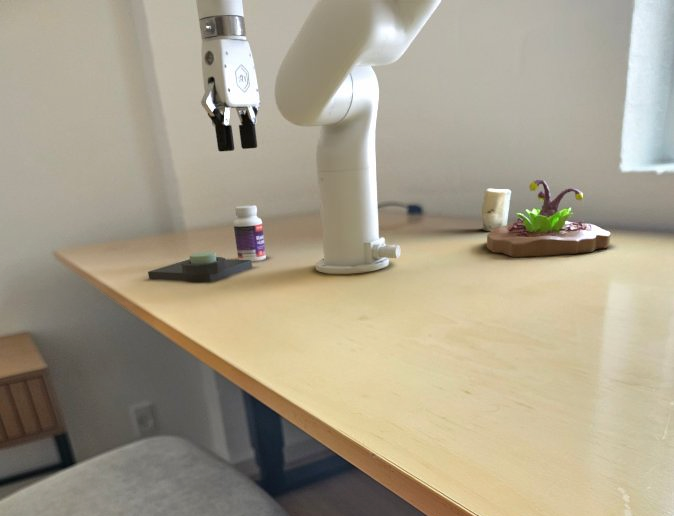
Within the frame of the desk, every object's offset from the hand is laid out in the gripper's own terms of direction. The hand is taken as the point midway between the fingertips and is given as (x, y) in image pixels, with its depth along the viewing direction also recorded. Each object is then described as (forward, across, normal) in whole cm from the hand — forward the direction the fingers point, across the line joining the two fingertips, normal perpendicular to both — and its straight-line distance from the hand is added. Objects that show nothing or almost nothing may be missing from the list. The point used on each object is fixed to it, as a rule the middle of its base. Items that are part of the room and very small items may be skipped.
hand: (238, 148), depth 118 cm
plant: (+20, +18, -51) cm, 58 cm away
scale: (+20, -13, +2) cm, 24 cm away
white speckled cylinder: (+20, +36, -37) cm, 55 cm away
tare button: (+17, -17, -2) cm, 24 cm away
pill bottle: (+20, 0, 0) cm, 20 cm away
